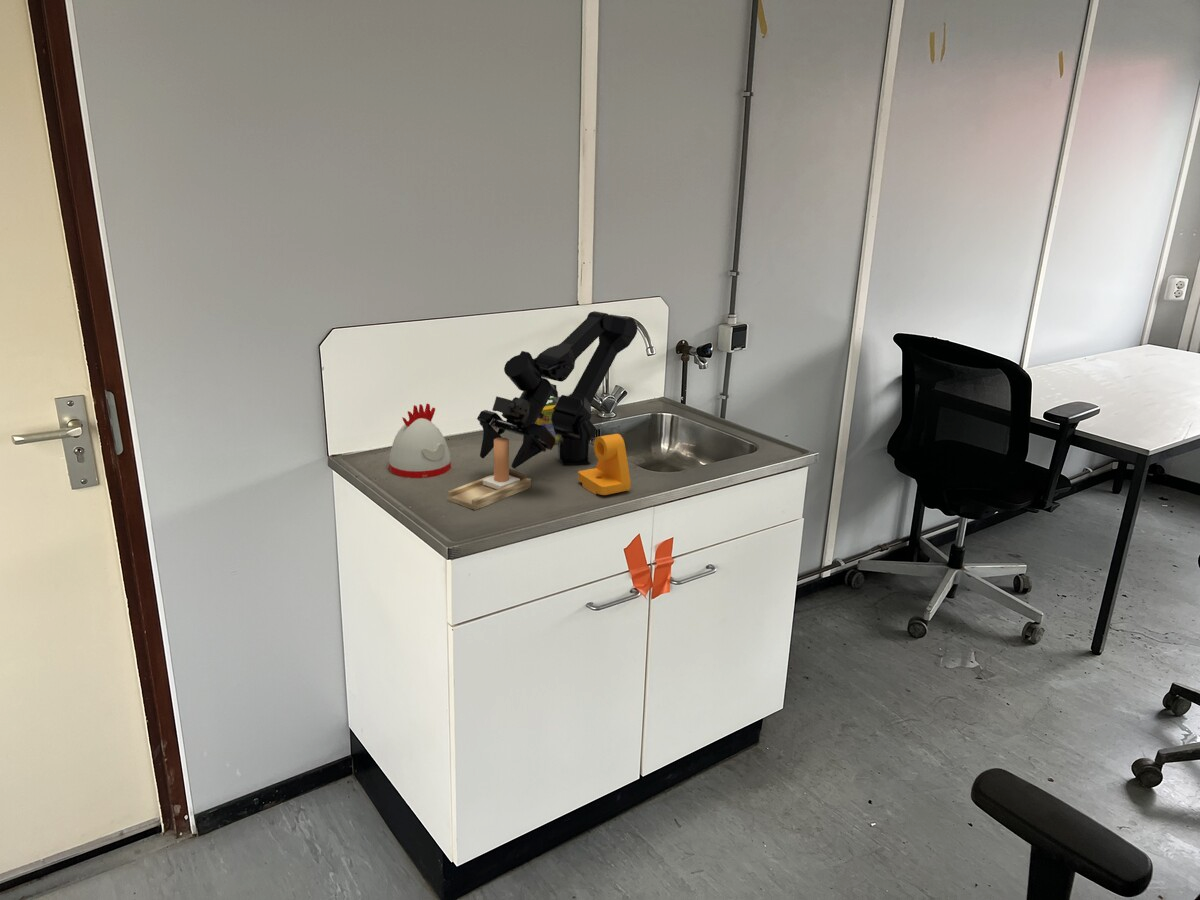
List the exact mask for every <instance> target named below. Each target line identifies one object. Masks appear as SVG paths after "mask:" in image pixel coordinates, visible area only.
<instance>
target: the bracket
mask: <svg viewBox="0 0 1200 900" xmlns="http://www.w3.org/2000/svg"><path fill="white" fill-rule="evenodd" d="M593 451H594V454H595V457H596V458H597V459H598V460H597V462H596V466H595V467H594V468H589V469H584V470H579V471H578V472H577V473H578V474H577V481H578V482H580V483H581V484H582V485H581V487H582V486H583V488H584V489H586V490H587V491H589V492H590V491H591V493H594V494H593V495H595V494H598V495H601V496H607V495H612V494H617V493H621V492H625V491H627V492H628V491H630V490H631V482H632V481H631V475H630V467H629V464H628V463H629V462H628V456H627V449H626V445H625V439H624V437H622V435H621V434H620V433H613V434H606V435H601V436H596V437H595V439H594V441H593Z"/></svg>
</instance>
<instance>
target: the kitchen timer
mask: <svg viewBox="0 0 1200 900" xmlns="http://www.w3.org/2000/svg"><path fill="white" fill-rule="evenodd" d="M435 411H436V408H435V407H432V408H431V405H430V403H428V402H427V403H426V405H425V409H424V406H423V404H420V403H419V406H417V405H416V404H414V405H413V409H412V412H411V411H409V410H408V411H407V416H408V420H407V419H406V418H405V417H401V418H402V419H401V420H402V421H403V423H404V424H403V425H402V426H401V427H400V429H399V430H398V431H397V433H396V434H395V437H394V439H393V441H392V446H391V449H390V453H389V461H388V466H389V471H390V473H392V474H393V473H394V475H395V474H396V475H395V476H398V475H399V477H403V478H408V477H410V479H423V478H424V477H427V478H433V477H437V476H440V475H443V474H446V473H448V472H449V471H450V470H451V468H452V465H451V463H452V462H451V461H452V460H451V454H450V453H451V452H450V450H449V447H448V444H447V441H446V438H445V436H444V435H443V433H442V431H440V429H439V427H438V426H436V425H435V424H434V423H433V422H432V420H433V417H434V415H435Z"/></svg>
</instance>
